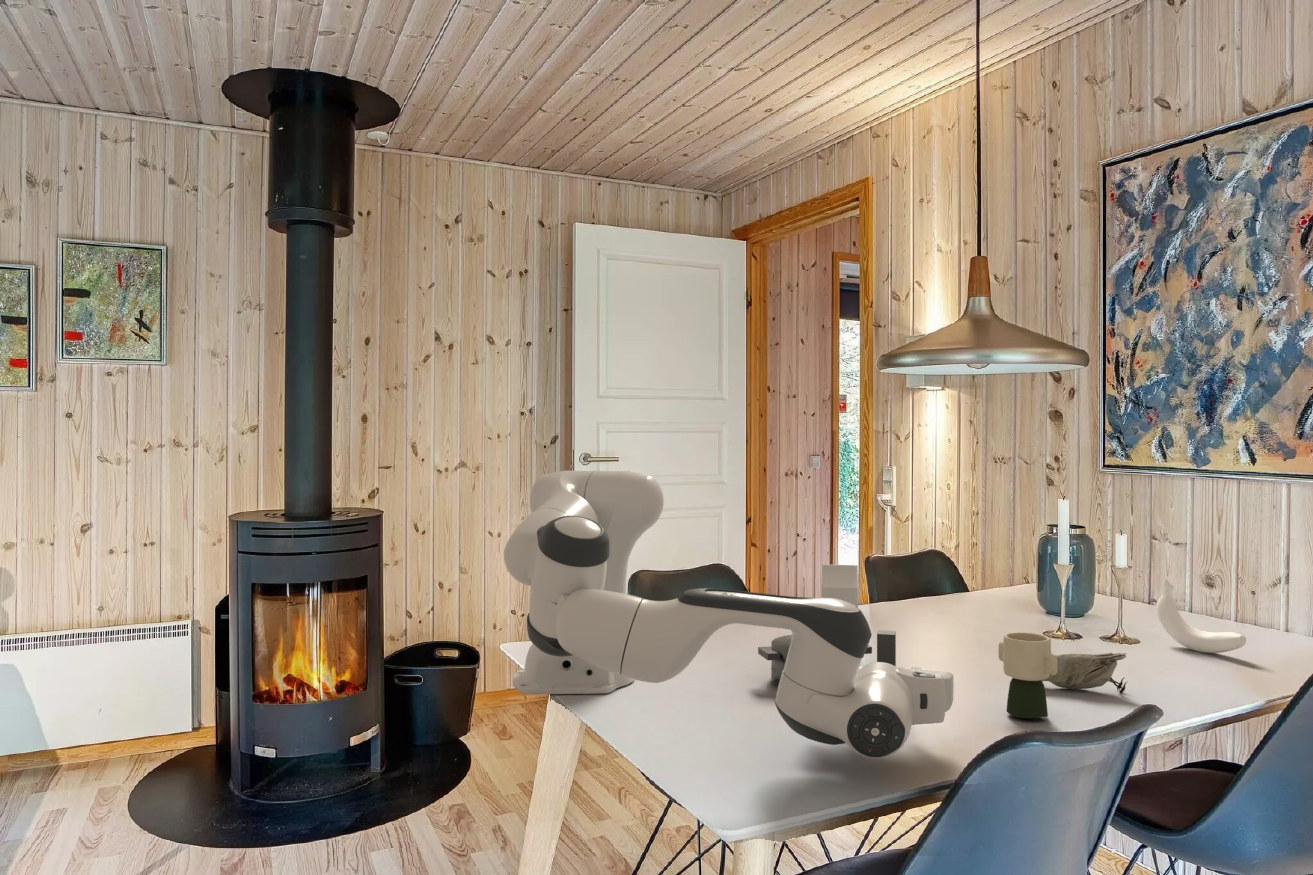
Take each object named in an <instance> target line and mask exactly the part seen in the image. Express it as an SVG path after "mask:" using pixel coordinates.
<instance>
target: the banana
mask: <svg viewBox="0 0 1313 875" xmlns="http://www.w3.org/2000/svg"><path fill="white" fill-rule="evenodd" d="M1164 578H1165V579H1164V581H1163V582H1164V584H1163V586H1164V592H1163V594H1162V596H1160V597H1159V598H1158V600H1157V602H1156V614H1157V616H1158V620H1159V622H1160V624H1161V626H1162V628H1163V629H1164V631H1165V632H1166V633H1167V634H1168V635H1169V636H1170V637H1171V638H1172V639H1173V640H1174V641H1176V642H1177V643H1178V644H1180V645H1181V646H1183V647H1185V648H1188V649H1190V650H1193V651H1194V652H1195V651H1196V652H1200V653H1205V654H1220V653H1225V652H1233V651H1235V650H1238V649H1240V648H1242V647H1244V646H1245V645H1246V643H1247V638H1246V636H1245V635H1243V634H1240V633H1238V632H1234V631H1233V632H1232V631H1223V632H1222V631H1221V632H1215V631H1214V632H1213V631H1212V632H1211V631H1204V630H1201V629H1198V628H1196V627H1194V626H1191V624H1189V623H1188V622H1187V621H1186V620H1185V619H1184V618H1183V617H1182V615H1181V614H1180V612H1179V610H1178V607H1177V605H1176V602H1175V598H1174V597H1173V592H1174V589H1175V587H1174V585H1173V584H1172V583H1171V582H1170V581H1169V580H1168V578H1166V577H1164Z"/></svg>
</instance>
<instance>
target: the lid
mask: <svg viewBox="0 0 1313 875" xmlns="http://www.w3.org/2000/svg"><path fill="white" fill-rule="evenodd" d="M896 636H897V631H896V630H884V629H883V630H882V629H878V630H877V632H876V662H884V663H889V664H892V665H894V666H896V667H897V664H896V663H897V662H896V661H897V658H896V657H897V649H896V648H897V643H896V642H897V638H896Z"/></svg>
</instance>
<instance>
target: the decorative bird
mask: <svg viewBox="0 0 1313 875" xmlns="http://www.w3.org/2000/svg"><path fill="white" fill-rule="evenodd" d="M1056 656H1057V674H1056V675H1051V674H1050V675H1049V678H1047V679H1044V680H1041V681H1042V682H1049V683H1051V684H1053V685H1054V686H1056V687H1058V688H1062V689H1067V690H1082V689H1083V690H1085V689H1086V690H1087V689H1088V690H1089V689H1094V688H1098V687H1103V686H1104V685H1105V684H1106V683H1107V682H1110V683H1112V684H1113V685H1114V686H1115V687H1116V689H1117V690H1116V692H1118V693H1119V696H1122V697H1123V693H1124V692H1125V689H1126V684H1127V683H1128V682H1129V681H1126V682H1125V683H1124V684H1123V682H1124V681H1123V680H1124V679H1125V678H1126V676H1124V677H1123V678H1121V679H1120V682H1118V681H1116V680H1114V679H1113V677H1112V676H1113V673H1114V672H1115V669H1116V668H1117V666H1118V661H1121V660H1124V659H1126V658H1127V652H1124V653H1121V652H1117V653H1113V652H1106V653H1097V654H1092V653H1091V654H1090V653H1063V654H1058V655H1056Z"/></svg>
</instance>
